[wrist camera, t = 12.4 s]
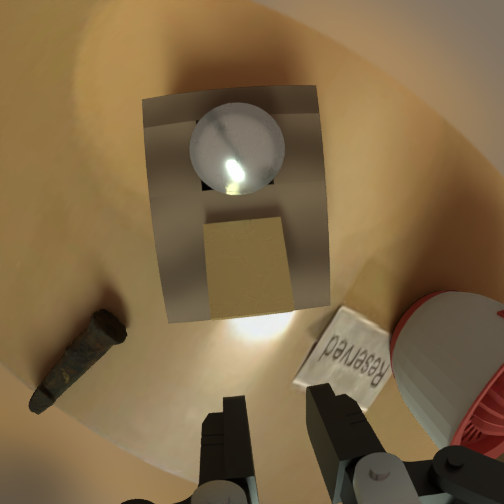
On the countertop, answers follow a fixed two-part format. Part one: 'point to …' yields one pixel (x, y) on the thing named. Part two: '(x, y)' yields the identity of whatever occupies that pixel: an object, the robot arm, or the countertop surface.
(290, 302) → the plate
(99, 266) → the countertop surface
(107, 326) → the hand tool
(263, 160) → the reflector light bulb
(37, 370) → the countertop surface
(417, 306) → the citrus juicer
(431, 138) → the countertop surface
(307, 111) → the block
